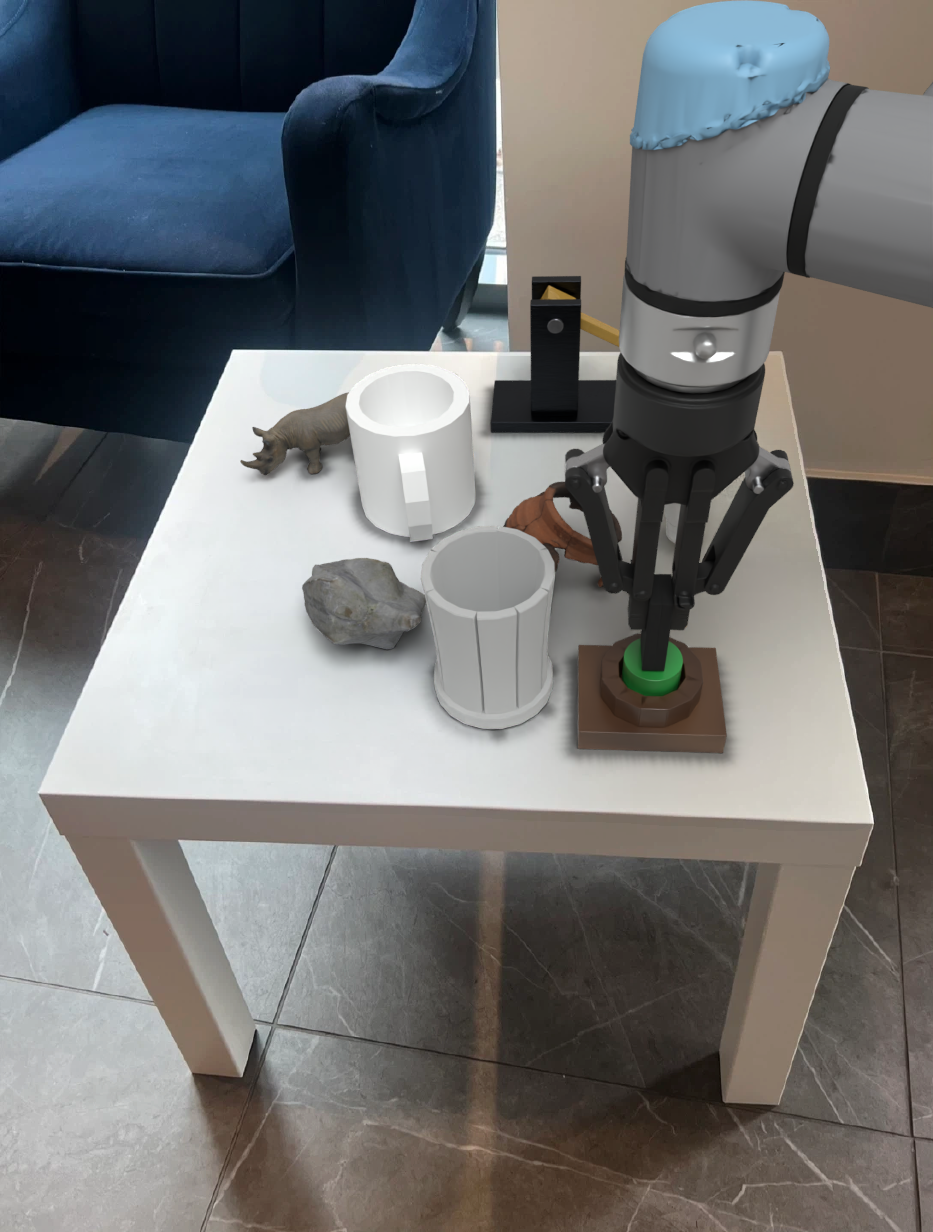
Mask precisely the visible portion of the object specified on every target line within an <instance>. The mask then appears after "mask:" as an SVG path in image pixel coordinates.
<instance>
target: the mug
mask: <svg viewBox="0 0 933 1232" xmlns="http://www.w3.org/2000/svg"><path fill="white" fill-rule="evenodd" d="M347 393H348V392H347ZM471 410H472V409H471V393H470V389H469V387H468V386H467V383H466V382H465V380H464V379H463V378H462V377H460V376H459V375H457V374H456V373H455V372H454V371H452V370H449V369H446V368H444V367H441V366H438V365H432V364H426V363H425V364H424V363H403V364H397V365H396V364H395V365H393V366H388V367H383V368H381V369H378V370H376V371H374V372H371V373H369V374H367V375H366V376H364V377H362V379H360V380H359V381H357V382H356V383H355V384H353V386H352V388H351V389H350V391H349V393H348V395H347V400H346V412H347V418H348V424H349V430H350V436H349V437H350V442H351V448H352V453H353V460H354V465H355V473H356V477H357V478H356V479H357V484H358V489H359V495H360V501H361V507H362V510H363V512H364V515H365V517H366V519H367V520H369V522H370V523H371V524H372V525H373V526H374V527H376V528H377V529H379V530H382V531H384V532H385V533H387V534H389V535H395V536H400V537H405V538H409V542H410V543H413V542H419V541H420V542H421V541H427V540H434V535H437V534H442V533H444V532H447V531H448V530H450V529H452V528H454V527H457V526H459V525H460V524H461V523H462V522H463V521H464V520H465V519H466V518H467V517H468V516H470V514H471V512H472V510H473V508H474V507H475V505H476V478H475V461H474V459H475V458H474V443H473V428H472V427H473V426H472V425H473V424H472V411H471Z"/></svg>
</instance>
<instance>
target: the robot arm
mask: <svg viewBox="0 0 933 1232" xmlns="http://www.w3.org/2000/svg"><path fill="white" fill-rule="evenodd" d="M829 49H830V36H829V33H828V31H827V28H826V26H825V24H824V23H823V22H822V21H821V20H820V18H819V17H816V15H814V14H812V13H811V12H809V11H804V10H800V9H790V7H789V6H788V5H787V4H784V3H780V2H779V3H778V2H773V1H766V0H765V1H764V0H721V1H714V2H713V1H712V2H707V3H703V4H698V5H695V6H691V7H688V8H685V9H682V10H680V11H678V12H676V13H674V14H672V15H671V16H669V17H668V18H667V20H665V21H663V22H661V23H660V24H658V26H656V28H655V29H654V30H653V32H651V34H650V35H649V37H648V39H647V41H646V44H645V46H644V49H643V53H642V59H641V68H640V74H639V75H640V76H639V83H638V91H637V99H636V105H635V107H636V108H635V112H634V113H635V114H634V121H633V122H634V123H633V127H632V128H631V132H630V134H629V145H630V146H631V161H630V163H631V164H630V183H629V198H628V199H629V200H628V203H629V204H628V217H627V237H626V238H627V240H626V256H625V260H624V273H623V278H622V290H621V291H622V292H621V305H620V316H619V317H620V319H619V330H620V331H619V347H618V348H619V354H618V357H617V362H616V364H617V366H616V375H615V377H616V379H615V380H616V390H615V403H614V417H613V420H612V423H611V424H610V426H609V427H608V428H607V430H606V431H605V433H603V436H602V444H599V445H597V446H596V447H594V448H592V449H590V450H588V451H586V452H585V451H583V450H582V449H580V448H572V449H569V450H568V451H567V452H566V453H565V455H564V456H565V457H564V482H565V486H566V488H567V489H568V491H569V492H570V493H571V494H572V495H573V497H574V498H575V499H576V500H577V501H578V503H579V504H580V505H581V506H582V509H583V512H582V513H583V516H584V520H585V523H586V528H587V531H588V534H589V538H590V539H591V542H592V546H593V549H594V553H595V557H596V560H597V564H598V565H597V568H598V571H599V574H600V577H601V579H602V582H603V586H602V587H603V589H604V591H605V592H607V593H608V594H612V595H614V594H619V593H621V592H624V593H626V594H628V600H627V602H628V603H627V622H628V627H629V629H630V630H631V631H632V630H633V631H634V630H635V631H640V634H641V639H640V643H641V660H642V670H648V671H664V670H665V663H666V656H667V649H668V643H669V637H671V631H685V629H686V628H687V627H688V625H689V618H690V612H691V610H692V609H693V608H695V605H696V600H695V596H696V595H698V594H701V593H706V594H708V595H710V596H717V595H720V594H722V593H723V592H724V591H725V589H726V588H727V586H728V584H729V582H730V580H731V579H732V577H733V575H734V573H735V571H736V569H737V568H738V566H739V565H740V563H741V562H742V561H741V560H742V559H743V557H744V555H745V554H746V553H747V552H746V551H747V549H748V548H749V546H750V545H751V543H752V541H753V539H754V537H755V535H756V533H757V532H758V530H759V529H760V526H761V525H762V522H763V521H764V519H765V517H766V515H767V514H768V512H769V510H770V509H771V508H772V507H773V506H774V505H775V504H776V503H777V502H779V501H780V500H782V498H783V497H784V496H785V495H787V493H789V492H790V491H791V490H792V489H793V487H794V484H795V483H794V478H793V473H792V470H791V464H790V461H789V457H788V453H787V452H786V451H785V450H782V449H774V450H771V451H768V450H766V449H765V448H763V447H761V446H760V445H759V443H758V435H757V432H756V430H755V427H756V421H757V417H758V412H759V407H760V401H761V397H762V391H763V387H764V381H765V375H766V364H765V363H766V361H767V359H768V357H769V354H770V349H771V344H772V339H773V332H774V327H775V322H776V317H777V312H778V306H779V301H780V300H779V299H780V294H781V290H782V287H783V284H784V278H785V273H788V274H792V275H795V276H800V277H804V278H806V279H810V278H811V279H816V280H820V281H823V282H824V281H825V282H828V283H832V284H837V285H840V286H844V287H848V288H852V289H856V290H858V291H859V290H860V291H864V292H868V293H872V294H876V295H879V296H883V297H887V298H891V299H895V300H899V301H903V302H908V303H911V304H916V305H918V306H919V305H920V306H924V307H928V308H930V309H933V81H932V82H931V83H930V85H928V87H927V88H926V90H925V91H924V92H923V94H913V93H906V92H905V93H904V92H897V91H889V90H888V91H887V90H879V89H870V88H869V87H868V86H862V85H855V84H851V83H850V82H845V81H839V80H834V79H830V78H829V76H830V71H831V66H830V61H829V60H828V56H829V51H830V50H829ZM609 468H610V469H612V471H613V472H614V473H615V474H616V476H617V477H618V478H619V479H620V480H621V482H623V484H624V485H625V486H626V487H627V488H628V490H629V491H630V492H631V493H632V495H633V496H635V497H636V498H637V503H636V513H635V514H636V515H635V524H634V533H633V544H632V552H631V554H632V555H631V559H630V562H628V561H624V560H623V557H622V552H621V547H620V545H619V543H618V540H617V536H616V532H615V528H614V524H613V520H612V516H611V512H610V510H611V508H610V503H609V500H608V496H607V492H606V487H605V486H606V485H607V483H608V469H609ZM743 474H744V478H743V480H742V481H741V483H740V485H739V487H738V489H737V491H736V493H735V495H734V497H733V499H732V500H731V502H730V504H729V506H728V509H727V510H726V512H725V513H724V516H723V518H722V520H721V522H720V524H719V526H718V528H717V529H716V531H715V533H714V535H713V537H712V539H711V542H710V543H709V545H708V548H707V550H706V551H705V553H704V554H703V557H702V559H701V556H702V549H703V543H704V537H705V531H706V525H707V523H708V522H709V517H710V511H711V504H712V500H714V499H715V498H716V497H717V496H719V495H720V494H721V493H722V492H723V491H725V490H726V488H727V487H729V486H730V485H731V484H732V483H733V482H735V481H736V480H737V479H738V478H739V477H741V476H742V475H743ZM714 497H715V498H714ZM713 498H714V499H713ZM711 499H712V500H711ZM672 503H677V504H681V506H680V513H679V520H678V528H677V535H676V542H675V543H674V549H673V558H672V563H671V573H656V565H657V556H658V549H659V541H660V532H661V526H662V523H663V519H664V514H665V505H667V504H672Z"/></svg>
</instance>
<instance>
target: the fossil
mask: <svg viewBox="0 0 933 1232" xmlns="http://www.w3.org/2000/svg"><path fill="white" fill-rule="evenodd" d="M301 589H302V592H303V601H304V609H305V612H306V613H307V616H308V618H309V619H310V622H311V624H312V625H313V626H314V627H315V629H317V630H318V631H319V633H321V635H323V636H324V637H325V638H326V639H327V640H329V641H330V642H331V644H334V645H350V644H362V645H368V646H371V647H375V648H379V649H384V650H391V649H392V650H393V649H394V648H395V647H396V645H397V644H398V642H399V640H400V639H401V637H402V635H403V634H404V632H409V631H410V630H413V629H414V628H416V627H417V626H419V625H420V623H421V622H422V617H423V616H422V615H423V612H424V609H425V607H426V606H427V603H426V599H425V595H424V592H421V590H418V589H416V588H414V587H411V586H409V585H407V584H405V583H403V582H402V581H400V580H399V578H398V576H397V574H396V572H395V571H394V568H393V566H392V565H391V564H390V563H389V562H387V561H382V560H379V559H376V558H369V557H356V558H350V559H349V558H348V559H340V560H337V561H331V562H327V563H321V564H314V565H313V567H312V569H311V576H309V578H307V580H305V582H304V583H303V584H302V585H301Z"/></svg>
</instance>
